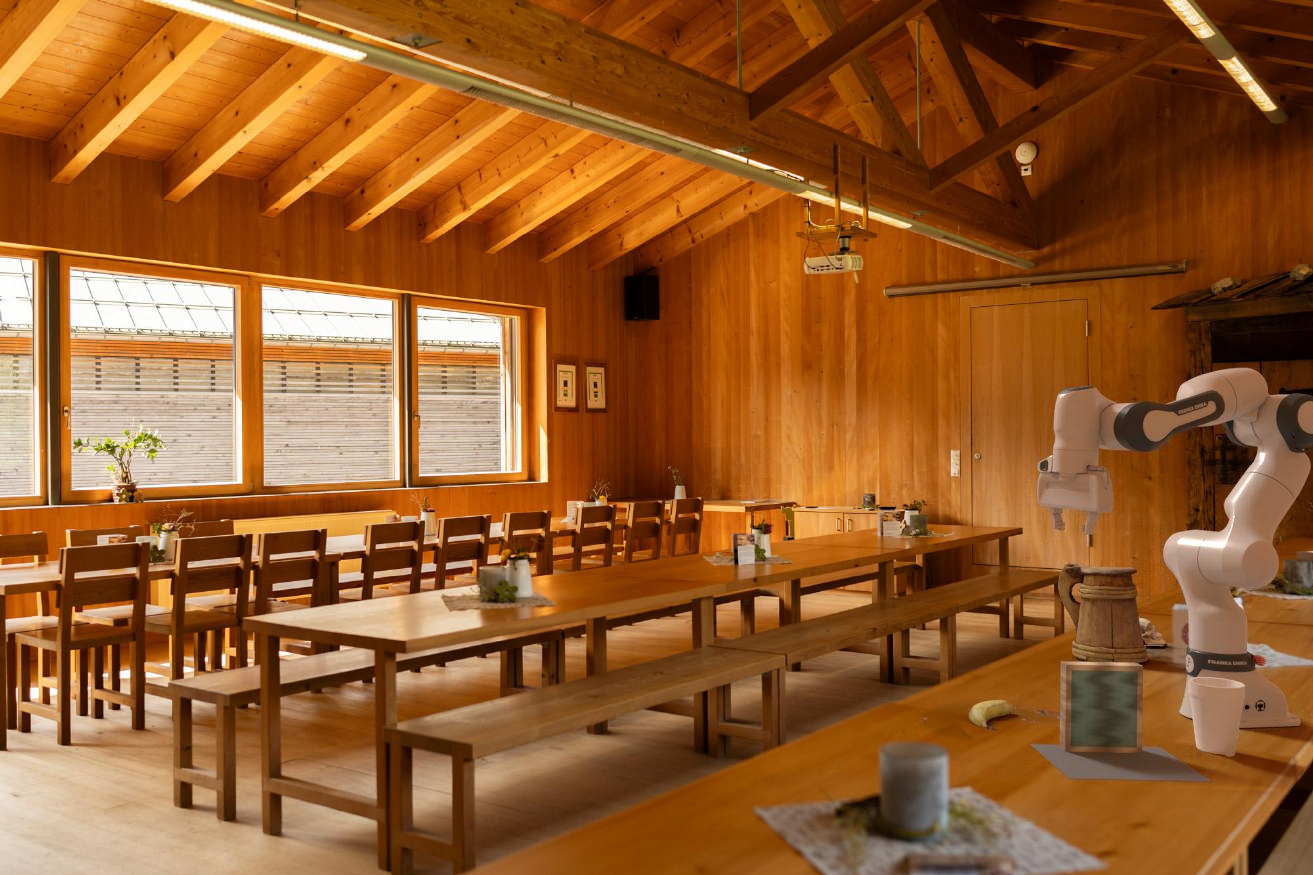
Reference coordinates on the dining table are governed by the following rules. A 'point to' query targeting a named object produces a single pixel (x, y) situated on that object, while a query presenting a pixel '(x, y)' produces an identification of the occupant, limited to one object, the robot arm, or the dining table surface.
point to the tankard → (1103, 613)
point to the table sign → (1101, 707)
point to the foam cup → (1216, 713)
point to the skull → (1150, 633)
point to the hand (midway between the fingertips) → (1073, 532)
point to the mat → (1120, 765)
